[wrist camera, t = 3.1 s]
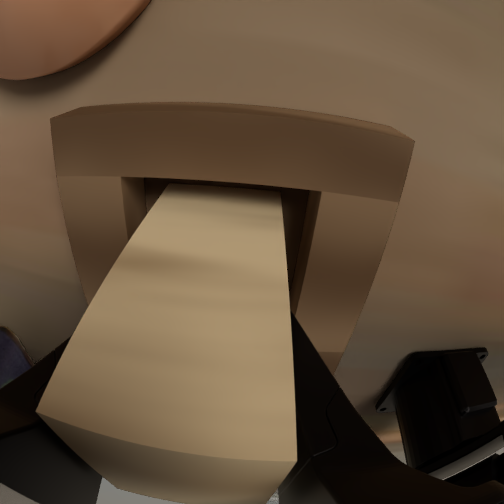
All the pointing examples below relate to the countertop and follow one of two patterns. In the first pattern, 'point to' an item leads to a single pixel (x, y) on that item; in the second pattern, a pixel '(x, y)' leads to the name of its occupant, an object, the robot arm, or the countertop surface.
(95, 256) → the pocket board
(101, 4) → the terracotta plate
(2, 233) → the countertop surface
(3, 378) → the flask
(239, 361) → the maple block
